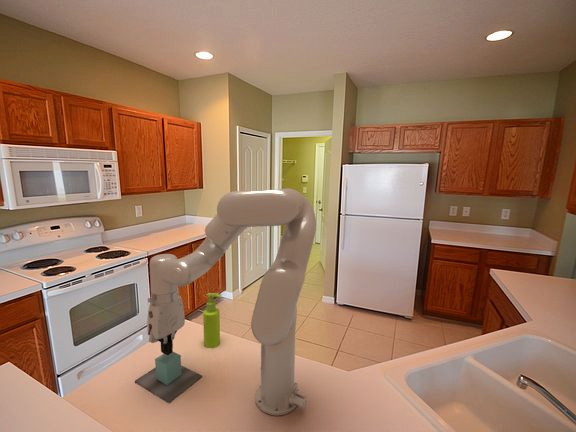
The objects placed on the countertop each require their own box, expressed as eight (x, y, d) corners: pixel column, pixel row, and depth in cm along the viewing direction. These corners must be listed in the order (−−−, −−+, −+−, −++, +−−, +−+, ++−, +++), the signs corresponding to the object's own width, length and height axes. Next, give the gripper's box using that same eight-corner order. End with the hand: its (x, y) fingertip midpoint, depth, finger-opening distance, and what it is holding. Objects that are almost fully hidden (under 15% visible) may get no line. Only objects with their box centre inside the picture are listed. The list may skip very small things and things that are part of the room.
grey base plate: (202, 377, 86) (201, 356, 85) (169, 403, 76) (168, 380, 75) (168, 360, 94) (168, 341, 93) (134, 382, 84) (133, 361, 83)
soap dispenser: (218, 349, 100) (217, 297, 98) (201, 347, 102) (199, 296, 99) (225, 340, 106) (224, 291, 104) (208, 338, 108) (207, 289, 105)
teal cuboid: (181, 374, 86) (180, 355, 85) (166, 385, 81) (165, 364, 80) (170, 368, 88) (169, 349, 87) (156, 378, 84) (155, 358, 83)
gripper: (149, 308, 73) (152, 371, 75) (193, 290, 86) (194, 344, 88) (133, 302, 77) (136, 362, 79) (177, 285, 90) (179, 337, 92)
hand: (167, 352), depth 84 cm, fingers closed
